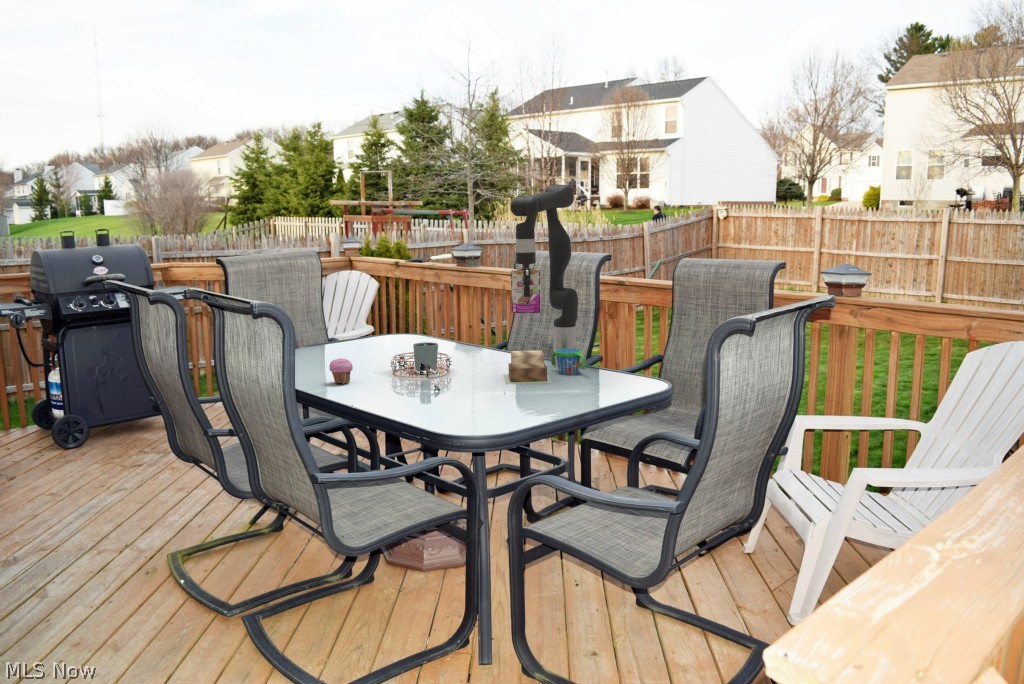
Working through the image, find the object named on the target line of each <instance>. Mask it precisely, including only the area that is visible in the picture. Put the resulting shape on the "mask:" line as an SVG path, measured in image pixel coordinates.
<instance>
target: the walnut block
mask: <svg viewBox="0 0 1024 684" xmlns="http://www.w3.org/2000/svg"><path fill="white" fill-rule="evenodd" d="M546 365H547V364H545V362H544V368H519V369H513V368H512V365H511V362H508V374H509V379H510V382H536V381H547V373H548V367H547V366H546Z"/></svg>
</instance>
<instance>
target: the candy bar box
mask: <svg viewBox="0 0 1024 684" xmlns="http://www.w3.org/2000/svg"><path fill="white" fill-rule="evenodd" d="M520 269H521V268H520ZM520 269H511V270H510V278H511V279H510V287H511V288H510V289H511V290H510V292H511V293H510V295H511V301H510V302H511V305H510V306H511V314H541V312H542V270H541V269H540V268H539V269H534V268H533V269H532V268H531V270H530V271H531V272H530V276H531V280H530V283H531V284H530V296H529V297H524V286H523V281H522V273H523V270H520ZM523 278H524V275H523ZM525 282H529V281H525Z"/></svg>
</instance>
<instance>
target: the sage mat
mask: <svg viewBox="0 0 1024 684" xmlns="http://www.w3.org/2000/svg"><path fill="white" fill-rule="evenodd" d="M502 375H503V379H504V383H505V385H521V384H522V385H524V384H525V385H526V384H527V385H528V384H554V381H553V379H552V377H551V375H550V373H549V372H547V381H536V382H510V379H509V373H508V374H507V373H504V374H502Z"/></svg>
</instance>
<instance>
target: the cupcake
mask: <svg viewBox="0 0 1024 684" xmlns="http://www.w3.org/2000/svg"><path fill="white" fill-rule="evenodd" d="M353 366H354V365H353V364H352V362H351V361H350V360H349V359H347V358H342V357H339V358H335V359H333V360H331V361H330V363H329V371H330V372H331V374H332V377H333V380H334V383H335V384H336V383H346V384H348V383H349V382H350V381H351V371H353ZM347 382H348V383H347Z"/></svg>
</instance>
